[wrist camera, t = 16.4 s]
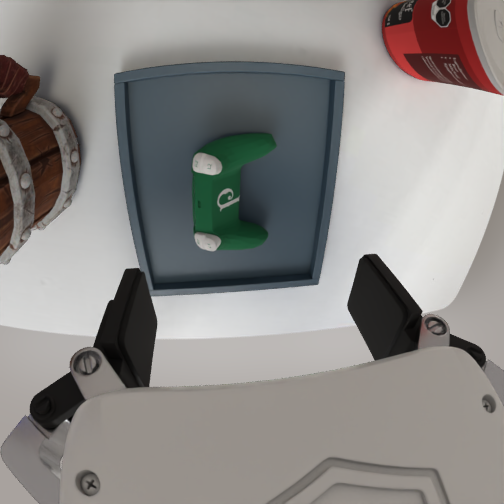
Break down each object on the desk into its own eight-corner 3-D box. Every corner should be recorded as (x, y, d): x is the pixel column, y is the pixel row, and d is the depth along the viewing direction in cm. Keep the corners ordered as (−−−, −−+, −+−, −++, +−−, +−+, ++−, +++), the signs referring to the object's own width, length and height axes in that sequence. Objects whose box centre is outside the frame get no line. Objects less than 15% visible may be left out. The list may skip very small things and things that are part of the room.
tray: (313, 275, 28) (318, 284, 27) (149, 286, 26) (147, 296, 25) (337, 72, 18) (345, 71, 16) (120, 74, 16) (113, 73, 14)
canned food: (421, 2, 13) (508, -7, 4) (449, 72, 17) (536, 91, 8) (364, 8, 14) (456, -18, 5) (398, 88, 18) (496, 107, 9)
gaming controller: (241, 127, 21) (182, 135, 16) (282, 134, 19) (225, 141, 15) (236, 229, 26) (186, 255, 21) (271, 243, 24) (222, 275, 20)
